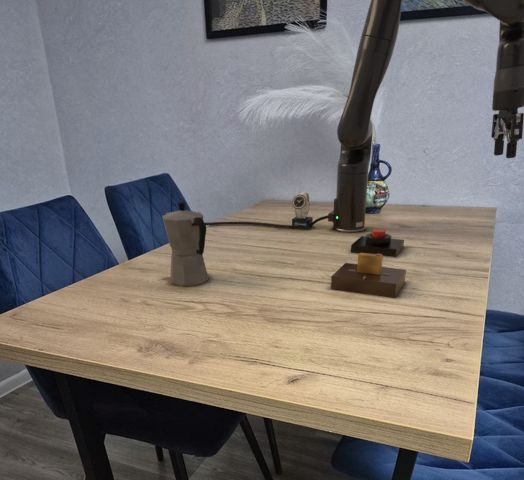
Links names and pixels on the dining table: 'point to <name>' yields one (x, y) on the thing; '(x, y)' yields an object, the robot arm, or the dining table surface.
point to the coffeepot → (186, 246)
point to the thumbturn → (370, 263)
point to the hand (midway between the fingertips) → (504, 156)
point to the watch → (301, 211)
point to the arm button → (378, 233)
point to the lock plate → (368, 280)
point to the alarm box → (378, 245)
